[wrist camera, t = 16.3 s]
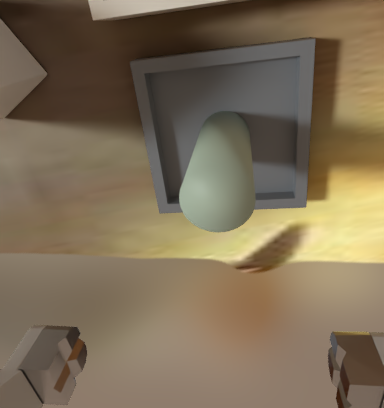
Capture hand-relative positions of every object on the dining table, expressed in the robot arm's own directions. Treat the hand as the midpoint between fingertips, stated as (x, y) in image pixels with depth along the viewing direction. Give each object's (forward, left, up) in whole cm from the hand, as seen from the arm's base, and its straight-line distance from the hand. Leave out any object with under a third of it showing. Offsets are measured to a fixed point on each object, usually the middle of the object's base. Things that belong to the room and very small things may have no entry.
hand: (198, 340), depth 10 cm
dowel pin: (0, 0, -22) cm, 22 cm away
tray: (0, 0, -22) cm, 22 cm away
